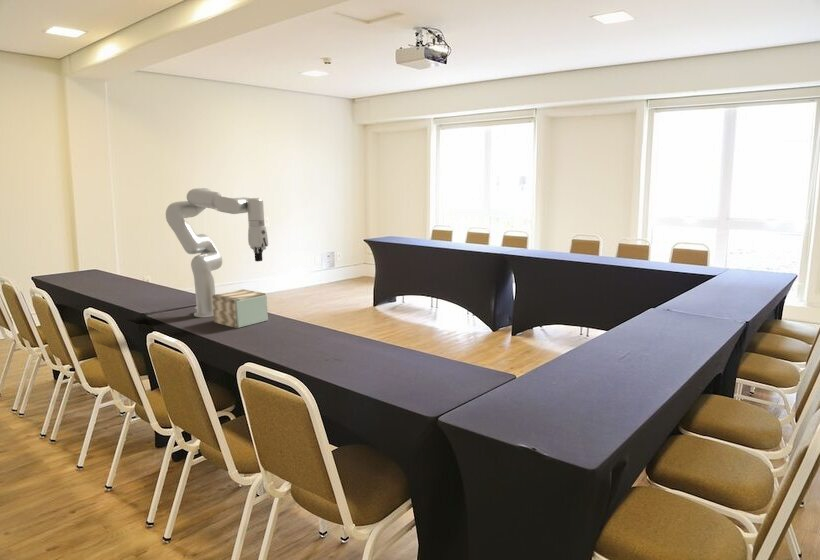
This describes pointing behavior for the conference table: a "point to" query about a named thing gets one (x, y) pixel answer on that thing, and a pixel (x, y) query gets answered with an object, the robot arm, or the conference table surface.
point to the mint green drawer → (251, 311)
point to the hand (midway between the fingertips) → (258, 260)
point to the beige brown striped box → (230, 305)
